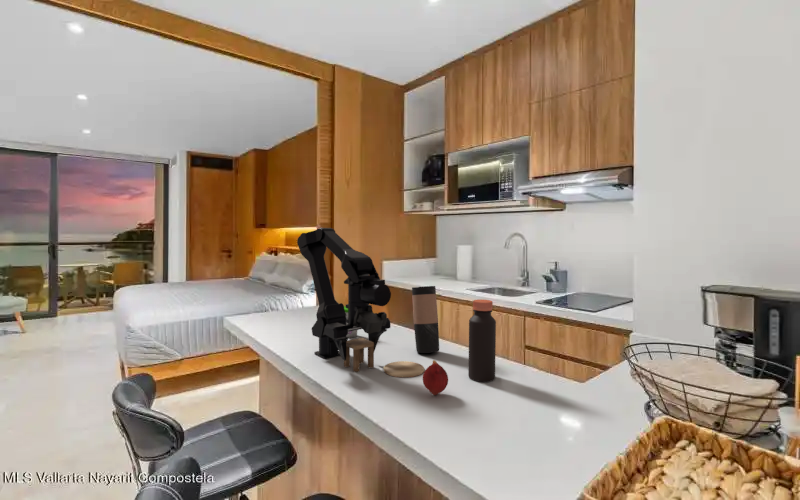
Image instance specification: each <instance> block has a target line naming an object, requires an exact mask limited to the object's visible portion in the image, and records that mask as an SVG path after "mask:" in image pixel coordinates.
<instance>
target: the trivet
mask: <svg viewBox="0 0 800 500" xmlns="http://www.w3.org/2000/svg"><path fill="white" fill-rule="evenodd" d="M383 372H384V373H385V374H386V375H388V376H389V377H390V376H391V377H395V378H414V377H418V376H420V375H423V374H424V372H425V368H424V365H422V364H421V363H418V362H416V361H415V362H414V361H406V360H405V361H402V360H401V361H399V360H398V361H394V362H393V361H391V362H389V363H387V364H385V365H384V366H383Z"/></svg>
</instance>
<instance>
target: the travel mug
mask: <svg viewBox="0 0 800 500" xmlns="http://www.w3.org/2000/svg"><path fill="white" fill-rule="evenodd" d="M436 290H437V289H436V286H435V285H429V286H428V285H427V286H424V285H423V286H416V287H411V293H412V310H413V311H412V313H413V314H412V315H413V328H414V339H415V340H414V341H415V349H416V350H415V351H416V352H417V353H420V354H421V353H422V354H423V353H424V354H425V353H427V354H428V353H437V352H439V351H440V333H439V330H440V329H439V314H438V304H437V291H436Z"/></svg>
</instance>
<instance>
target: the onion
mask: <svg viewBox="0 0 800 500" xmlns="http://www.w3.org/2000/svg"><path fill="white" fill-rule="evenodd" d="M422 382H423V385H424V387H425V389H426V390H428V391H429V393H431V394H432V395H433V396H436V395H439V394H440V393H441V392H444V390H445V389H446V388H447V386H448V384H449V375H448V373H447V371H446V369H445V368H444V367H443V366H442V365H440V364H439V363H438V362H437V361H436V360H435V359H434V360H432V364H430V365H429V366H427V368H426V369H424V372H423V373H422Z"/></svg>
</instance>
